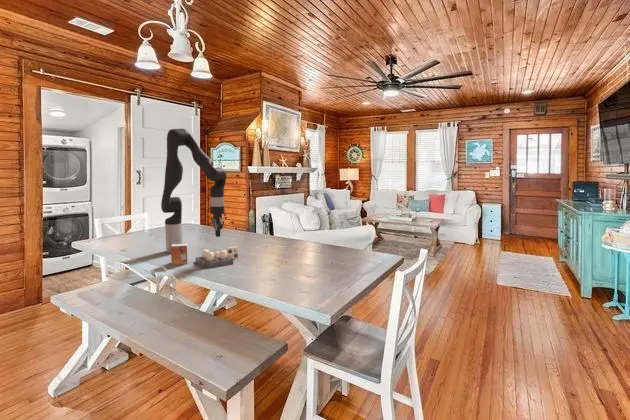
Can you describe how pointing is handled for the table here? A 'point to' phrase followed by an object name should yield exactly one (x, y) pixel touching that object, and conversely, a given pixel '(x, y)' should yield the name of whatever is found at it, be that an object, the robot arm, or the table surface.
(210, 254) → the button
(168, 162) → the robot arm
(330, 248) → the table surface
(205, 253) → the button
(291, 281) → the table surface
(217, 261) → the board
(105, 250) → the table surface
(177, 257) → the small box
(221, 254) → the button
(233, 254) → the card
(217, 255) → the button
